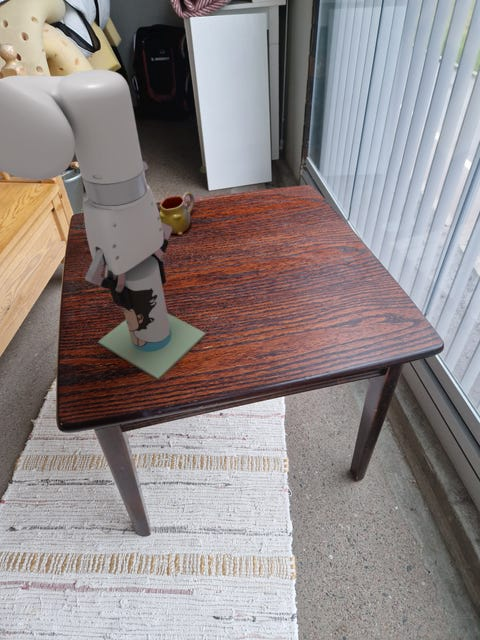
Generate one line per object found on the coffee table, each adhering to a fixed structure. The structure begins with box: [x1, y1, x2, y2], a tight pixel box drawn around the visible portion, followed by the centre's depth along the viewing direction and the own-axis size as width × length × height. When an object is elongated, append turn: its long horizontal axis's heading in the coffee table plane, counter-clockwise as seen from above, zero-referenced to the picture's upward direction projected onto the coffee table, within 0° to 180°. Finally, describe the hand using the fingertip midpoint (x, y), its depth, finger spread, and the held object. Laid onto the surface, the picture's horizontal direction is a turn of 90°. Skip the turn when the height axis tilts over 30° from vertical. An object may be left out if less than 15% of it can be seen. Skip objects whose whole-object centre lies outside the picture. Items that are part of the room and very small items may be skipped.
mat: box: [97, 312, 207, 381], centre depth 72 cm, size 12×14×1 cm
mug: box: [159, 191, 195, 236], centre depth 98 cm, size 12×7×7 cm, turn 152°
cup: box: [113, 255, 172, 352], centre depth 67 cm, size 7×7×15 cm
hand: (141, 292), depth 65 cm, fingers closed on cup, 6 cm apart
